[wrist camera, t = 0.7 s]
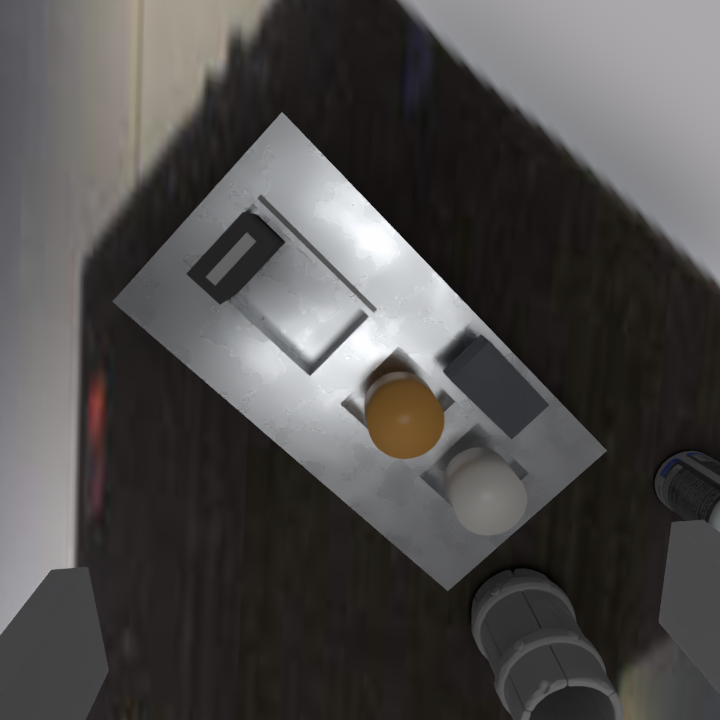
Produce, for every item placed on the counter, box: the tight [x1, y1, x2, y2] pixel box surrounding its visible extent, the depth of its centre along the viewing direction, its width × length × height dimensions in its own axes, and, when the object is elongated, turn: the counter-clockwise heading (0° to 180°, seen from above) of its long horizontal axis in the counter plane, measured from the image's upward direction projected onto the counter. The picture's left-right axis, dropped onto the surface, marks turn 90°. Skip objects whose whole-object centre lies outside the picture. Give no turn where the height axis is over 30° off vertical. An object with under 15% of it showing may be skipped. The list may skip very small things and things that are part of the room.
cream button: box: [444, 447, 527, 535], centre depth 31 cm, size 4×4×3 cm
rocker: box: [443, 335, 549, 440], centre depth 30 cm, size 6×3×1 cm, turn 45°
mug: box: [471, 568, 623, 720], centre depth 35 cm, size 8×12×12 cm, turn 43°
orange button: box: [364, 372, 445, 459], centre depth 30 cm, size 4×4×3 cm
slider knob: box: [186, 212, 285, 305], centre depth 28 cm, size 2×4×5 cm, turn 135°
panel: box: [113, 113, 607, 591], centre depth 33 cm, size 28×14×5 cm, turn 45°
